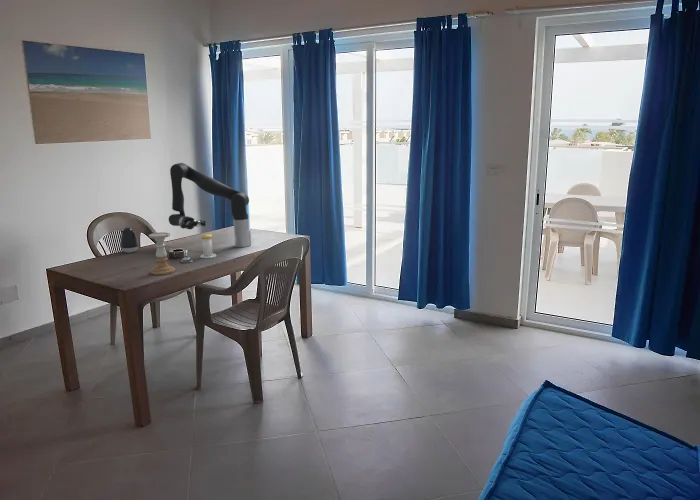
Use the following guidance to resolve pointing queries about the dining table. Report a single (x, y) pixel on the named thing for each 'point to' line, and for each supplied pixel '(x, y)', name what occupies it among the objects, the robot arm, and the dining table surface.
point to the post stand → (186, 260)
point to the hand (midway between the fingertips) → (197, 225)
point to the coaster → (208, 256)
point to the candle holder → (161, 255)
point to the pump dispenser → (128, 240)
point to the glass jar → (207, 244)
